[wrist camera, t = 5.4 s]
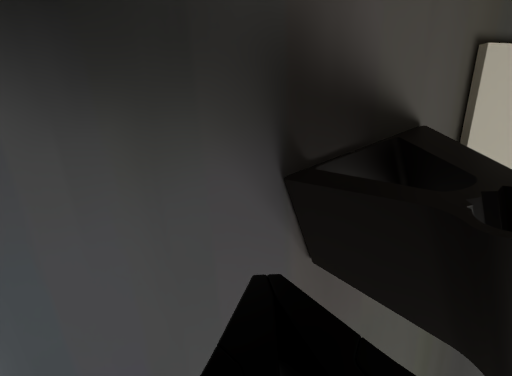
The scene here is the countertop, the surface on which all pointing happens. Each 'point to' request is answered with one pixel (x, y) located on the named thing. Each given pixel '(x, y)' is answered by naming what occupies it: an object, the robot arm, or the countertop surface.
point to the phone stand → (419, 236)
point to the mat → (491, 104)
